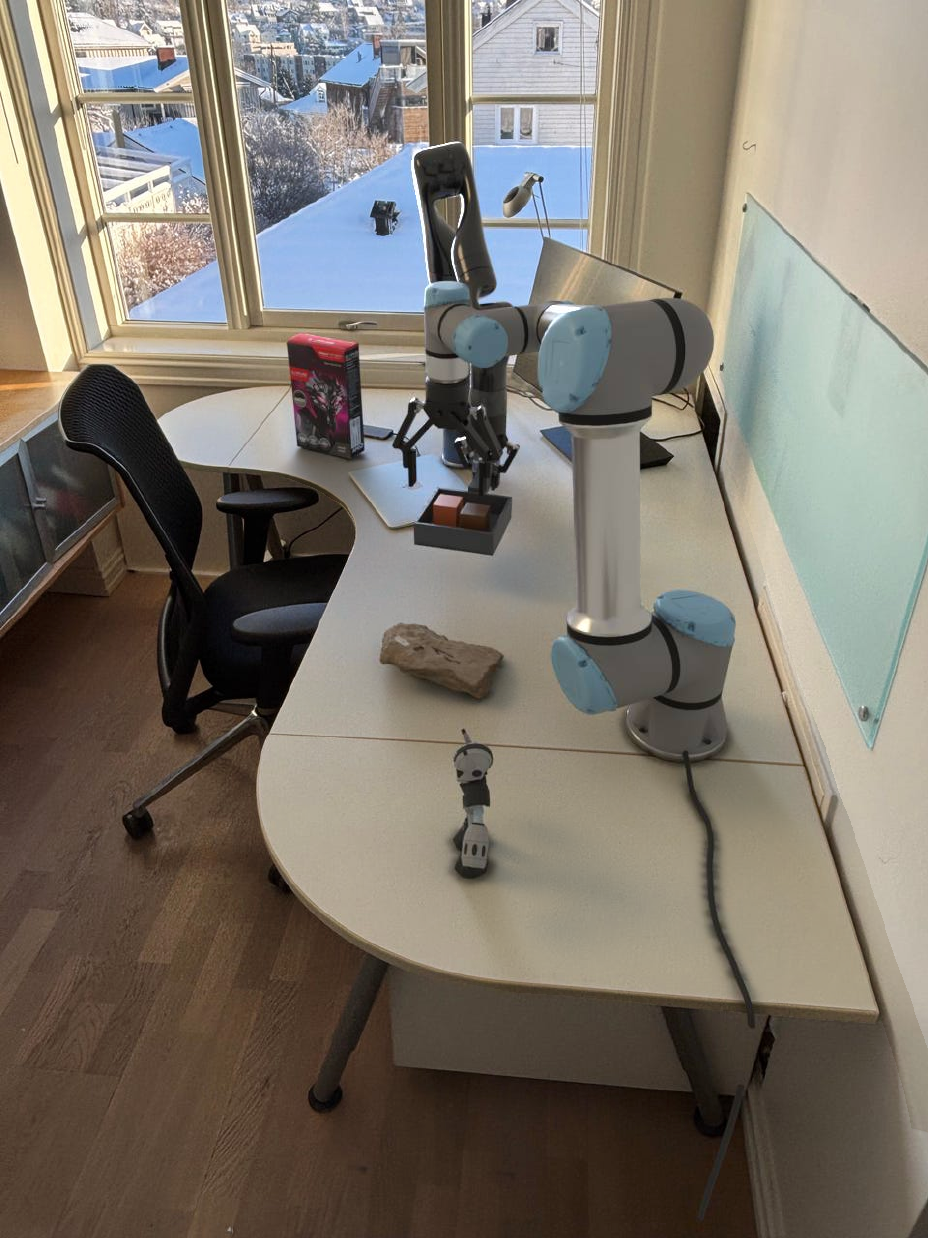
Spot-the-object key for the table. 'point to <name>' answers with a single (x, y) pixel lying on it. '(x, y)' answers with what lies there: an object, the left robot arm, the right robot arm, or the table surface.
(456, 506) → the terracotta block
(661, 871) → the table surface
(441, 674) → the stone
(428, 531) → the tote
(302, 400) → the graphics card box
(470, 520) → the walnut block
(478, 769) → the robot
